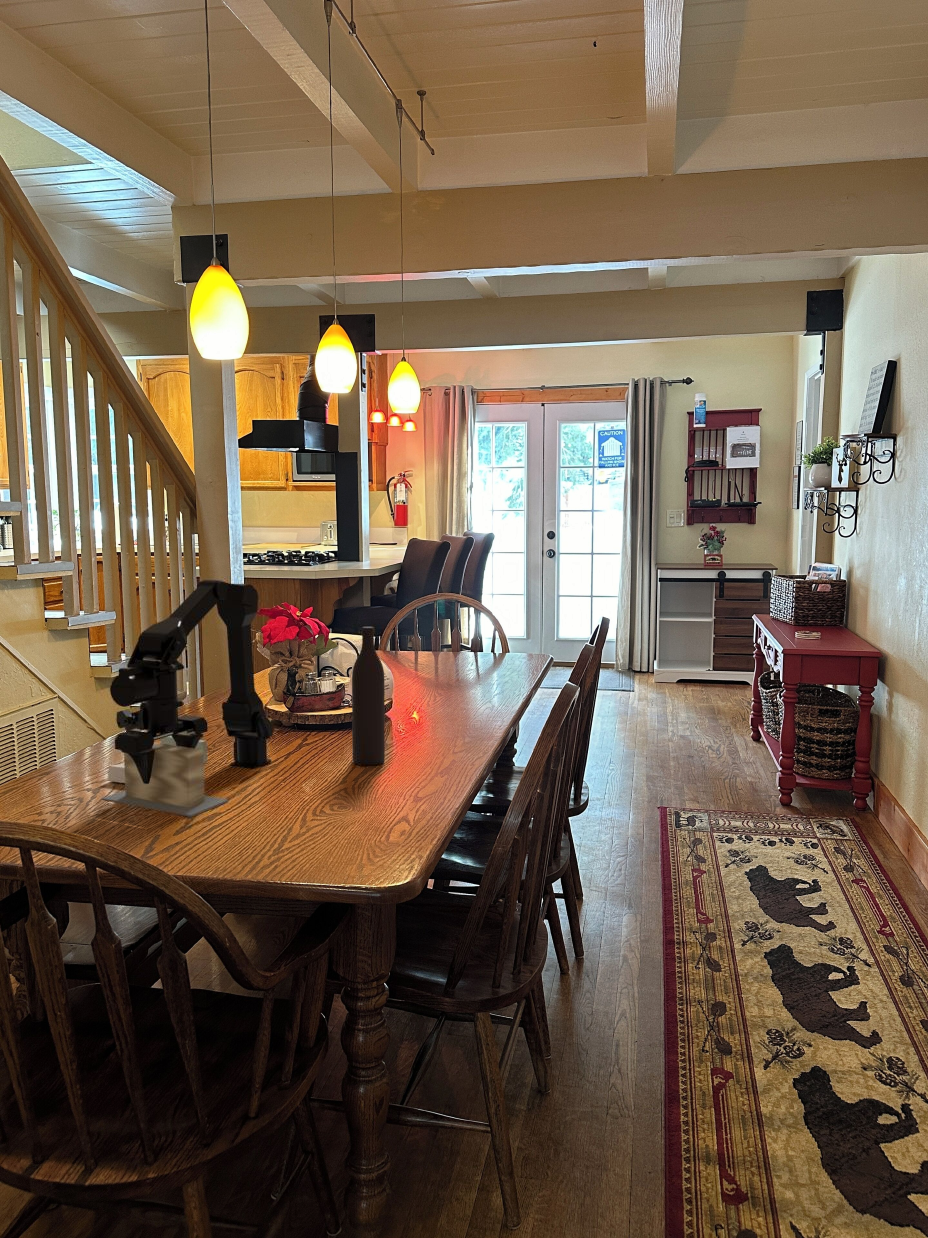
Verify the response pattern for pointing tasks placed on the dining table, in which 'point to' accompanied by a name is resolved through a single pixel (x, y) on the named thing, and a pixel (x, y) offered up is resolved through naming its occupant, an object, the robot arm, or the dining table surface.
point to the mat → (185, 811)
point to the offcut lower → (116, 773)
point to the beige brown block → (169, 776)
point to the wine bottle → (368, 704)
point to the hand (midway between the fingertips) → (164, 777)
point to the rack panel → (200, 745)
